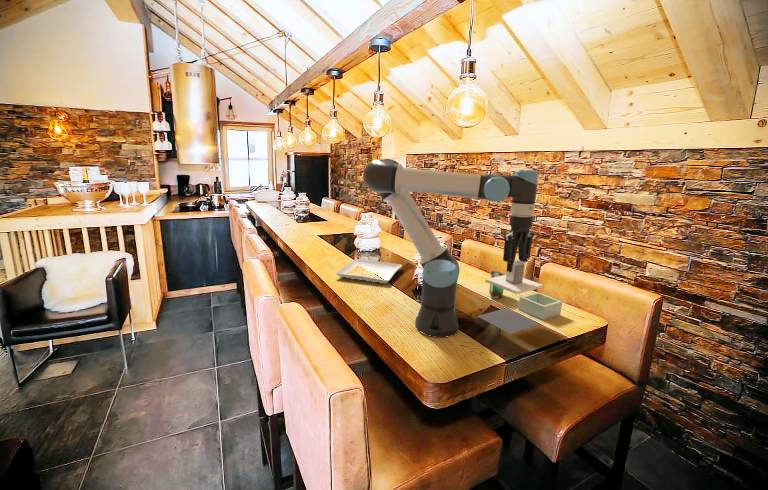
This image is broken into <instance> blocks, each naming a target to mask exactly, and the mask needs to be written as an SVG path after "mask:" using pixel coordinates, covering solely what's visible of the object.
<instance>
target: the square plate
mask: <svg viewBox="0 0 768 490" xmlns="http://www.w3.org/2000/svg"><path fill="white" fill-rule="evenodd" d="M357 265H361V266H363V268H365V269H367V270H368V271H371V272H372V273H374V274H376V275H378V276H379V277H381V278H382V279H377V278H372V277H366V276H359V275H349V274H346V273H347V272H349V271H350V270H352V269H353V268H355V267H356V266H357ZM402 267H403V265H402V264H400V263H394V262H385V261H379V260H372V259H371V260H370V259H369V260H368V259H359V258H355V259H353V260H352V261H350V262H349V263H348V264H346V265H344V266H343V267H342V268H340V269H339V270H338V271H337V272H335V274H336V275H337V276H338V277H339V278H343V277H346V278H345V279H348V278H354V279H361V280H367V281H366V282H368V281H373V282H372V283H375V282H380V283H379V284H388V283H389V282H390V281H391V279H392V278H393V276H394V275H395V274H396V273H397V272H398V271H399V270H400V269H401V268H402ZM383 279H384V280H383Z"/></svg>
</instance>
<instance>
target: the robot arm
mask: <svg viewBox="0 0 768 490" xmlns="http://www.w3.org/2000/svg"><path fill="white" fill-rule="evenodd" d="M362 177H363V183H364V184H365V186H366V187H367V188H368V190H370V191H371V192H373V193H378V195H379V197H380V199H381V200H382V202H386V203H388V204H389V206H390V207H391V208H392V211H393V212H394V214H395V215H396V218H397V219H398V221H399V222H400V224H401V227H403V229H404V230H405V233H406V234H407V236H408V237H409V240H410V241H411V243H412V244H413V245H414V247H415V249H416V251H417V253H418V255H419V256H420V260H419V263H420V265H421V267H422V273H421V275H422V287H421V304H420V307H419V311H418V313H417V315H416V317H415V321H414V327H415V326H416V327H415V329H416V328H417V329H418V330H419V331H421V332H423V333H425V334H427V335H426V336H428V335H431V336H430V337H432V336H436V337H435V338H447V337H446V336H449V337H452V336H455V335H456V334H457V333H458V331H459V321H458V317H457V314H456V313H457V312H456V299H457V286H458V280H459V275H460V265H459V262H458V261H457V259H456V258H455V257H454V256H453V255H452V254H451V252H450V251H449V249H448V248H447V247H446V246H444V245H441V244H440V242H439V240H438V238H437V237H436V236H435V234H434V232H433V230H432V229H431V227H430V225H429V224H428V221H427V220H426V219H425V217H424V215H423V214H422V212H421V210H420V208H419V207H418V205H417V203H416V201H415V200H414V198H413V196H412V194H411V193H419V194H429V195H440V196H447V197H448V196H449V197H450V196H451V197H459V198H466V199H467V198H468V199H469V198H470V199H478V200H484V201H490V202H493V203H497V202H498V203H499V202H502V201H504V200H505V199H506V198H511V203H510V204H511V205H510V213H509V214H511V215H509V222H508V223H509V226H510V230H509V233H508V234H506V233H505V234H504V235H503V239H504V244H503V245H504V246H503V257H502V259H503V262H505V263H506V274H507V276H506V279H507V280H510V281H514V273H515V265H516V264H515V263H514V262H519V263H522V264H524V265H525V264H526V263H528V262H529V259H530V257H531V251H532V245H533V239H534V236H535V232H532V231H530V230H531V229H530V228H532V227H533V222H534V217H533V215H534V214H535V213H534V212H535V204H536V197H537V192H538V191H537V190H538V189H537V188H538V185H539V184H538V178H539V173H538V171H537V170H533V169H516V170H515V171H514V174H512V175H506V174H505V175H501V174H490V173H489V174H488V173H487V174H474V173H462V172H451V171H444V170H443V171H442V170H434V169H433V170H432V169H421V168H420V169H419V168H409V167H404V166H403V165H402V164H400V163H399V162H398V161H396V160H394V159H392V158H391V159H390V158H382V159H381V158H377V159H373V160H371V161H370V162H369V163H367V165H366V166H365V168H364V169H363V176H362ZM517 252H518V255H517ZM517 256H518V259H517V260H516V257H517ZM515 260H516V261H515ZM525 262H526V263H525ZM417 329H416V330H417ZM418 330H417V331H418ZM419 331H418V332H419ZM421 332H420V333H421ZM425 334H424V335H425ZM451 335H452V336H451Z"/></svg>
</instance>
